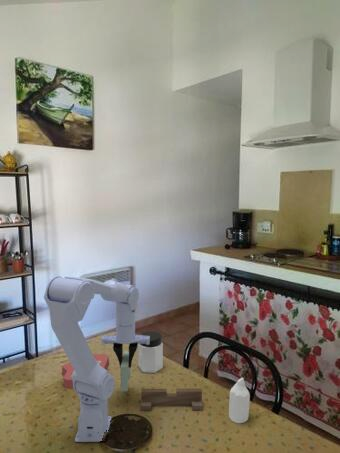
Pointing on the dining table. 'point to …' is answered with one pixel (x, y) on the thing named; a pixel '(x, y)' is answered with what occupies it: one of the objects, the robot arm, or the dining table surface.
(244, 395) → the bottle
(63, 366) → the plaque
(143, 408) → the walnut stand
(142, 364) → the jar
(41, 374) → the dining table surface
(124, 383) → the slotted plate
